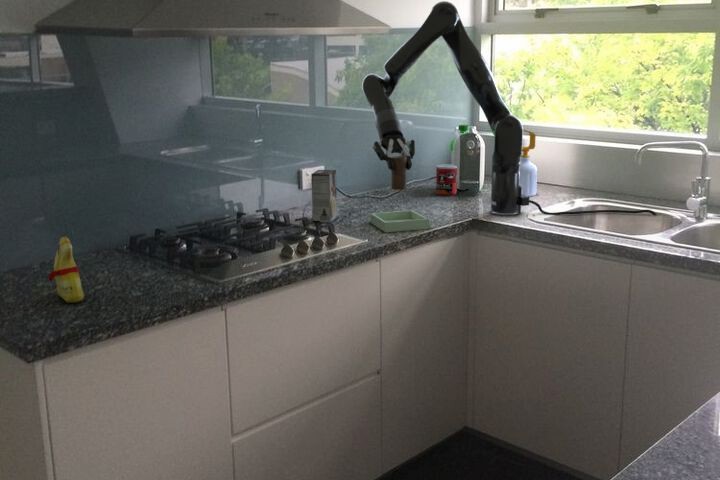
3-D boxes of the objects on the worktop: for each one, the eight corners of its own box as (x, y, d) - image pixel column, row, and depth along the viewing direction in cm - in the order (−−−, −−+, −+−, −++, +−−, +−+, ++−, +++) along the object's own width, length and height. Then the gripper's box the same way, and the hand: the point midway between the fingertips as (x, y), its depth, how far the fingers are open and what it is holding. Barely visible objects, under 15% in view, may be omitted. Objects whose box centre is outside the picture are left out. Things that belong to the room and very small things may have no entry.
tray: (412, 219, 275) (412, 210, 274) (428, 228, 261) (428, 219, 260) (370, 222, 270) (370, 213, 270) (385, 232, 257) (385, 222, 256)
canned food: (432, 195, 314) (432, 166, 312) (442, 191, 321) (442, 163, 318) (450, 196, 310) (451, 167, 308) (460, 193, 317) (460, 164, 314)
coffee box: (319, 216, 281) (317, 169, 277) (337, 216, 279) (336, 169, 276) (312, 222, 272) (310, 173, 268) (331, 222, 271) (330, 174, 267)
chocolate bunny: (73, 290, 202) (67, 230, 199) (88, 301, 194) (82, 239, 190) (44, 295, 198) (38, 235, 195) (58, 307, 190) (52, 244, 186)
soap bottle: (507, 193, 317) (510, 128, 311) (529, 191, 319) (532, 127, 313) (517, 197, 308) (520, 131, 302) (540, 196, 310) (543, 130, 304)
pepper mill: (403, 186, 266) (403, 155, 263) (408, 189, 261) (408, 157, 259) (389, 187, 264) (389, 156, 262) (394, 190, 260) (394, 158, 258)
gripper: (369, 119, 263) (382, 162, 254) (412, 117, 267) (425, 160, 259) (364, 134, 269) (376, 177, 261) (406, 132, 273) (419, 174, 265)
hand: (401, 168), depth 260 cm, fingers closed on pepper mill, 5 cm apart
